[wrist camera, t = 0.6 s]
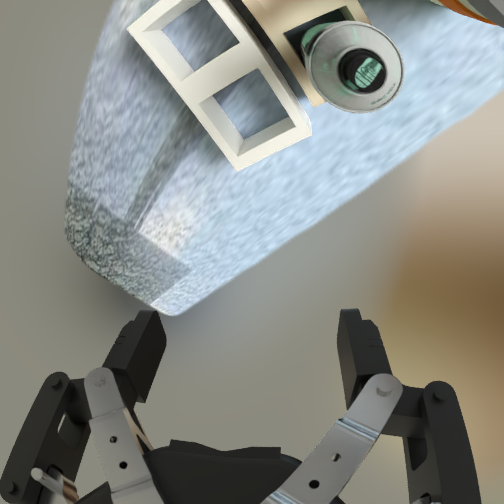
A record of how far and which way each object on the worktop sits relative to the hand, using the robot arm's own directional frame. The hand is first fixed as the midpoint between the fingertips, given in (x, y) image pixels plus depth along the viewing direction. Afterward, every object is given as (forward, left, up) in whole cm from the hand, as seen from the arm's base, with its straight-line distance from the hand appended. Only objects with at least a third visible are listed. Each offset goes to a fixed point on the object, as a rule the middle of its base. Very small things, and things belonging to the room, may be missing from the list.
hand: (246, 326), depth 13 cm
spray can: (-5, +9, -27) cm, 29 cm away
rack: (-9, -1, -27) cm, 28 cm away
